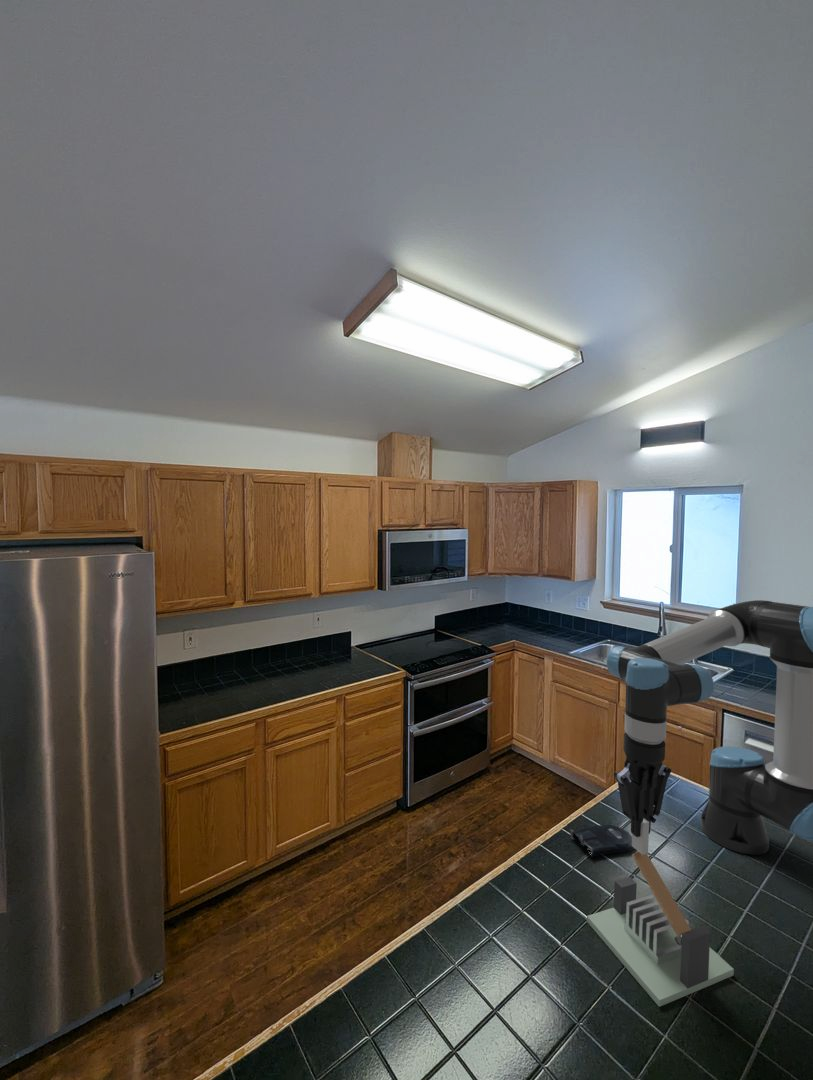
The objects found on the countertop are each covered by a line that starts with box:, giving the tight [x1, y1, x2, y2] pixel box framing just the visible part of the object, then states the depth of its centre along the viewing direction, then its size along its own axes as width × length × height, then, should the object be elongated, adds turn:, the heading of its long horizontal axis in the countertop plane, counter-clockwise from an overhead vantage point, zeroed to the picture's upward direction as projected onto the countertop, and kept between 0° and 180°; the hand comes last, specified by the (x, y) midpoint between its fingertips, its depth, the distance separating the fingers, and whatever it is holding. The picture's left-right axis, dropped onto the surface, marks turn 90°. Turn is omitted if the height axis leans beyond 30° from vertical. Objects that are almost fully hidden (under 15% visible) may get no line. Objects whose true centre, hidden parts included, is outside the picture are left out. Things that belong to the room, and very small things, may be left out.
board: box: [586, 876, 735, 1008], centre depth 91 cm, size 18×18×10 cm
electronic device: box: [569, 824, 635, 858], centre depth 120 cm, size 9×6×15 cm
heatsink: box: [624, 893, 690, 965], centre depth 91 cm, size 8×8×6 cm
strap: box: [631, 851, 692, 945], centre depth 90 cm, size 4×15×1 cm
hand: (639, 849), depth 95 cm, fingers closed
